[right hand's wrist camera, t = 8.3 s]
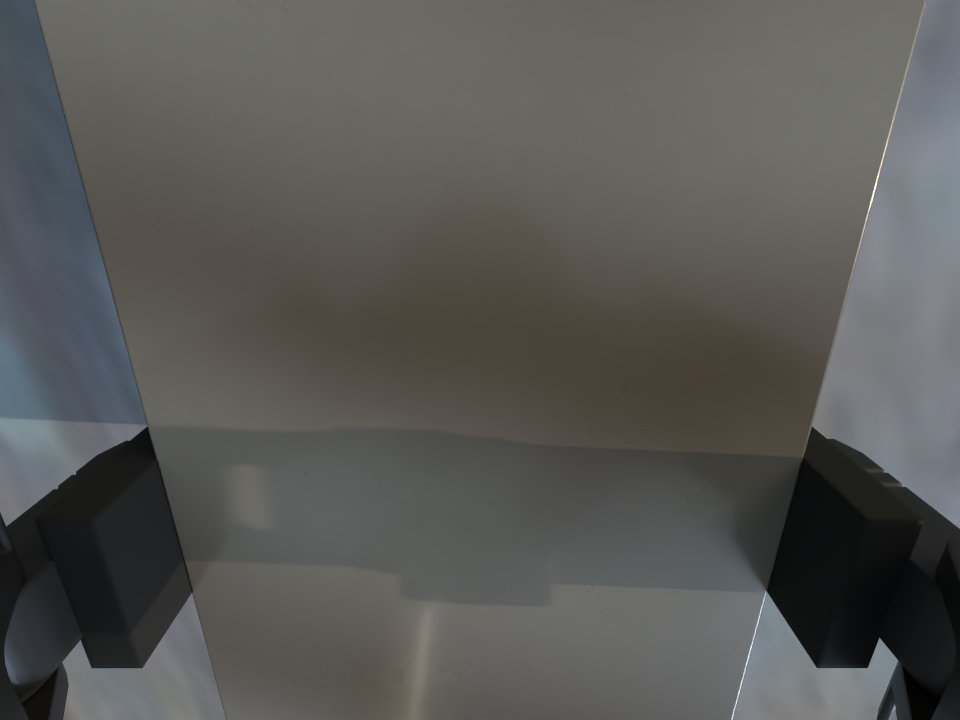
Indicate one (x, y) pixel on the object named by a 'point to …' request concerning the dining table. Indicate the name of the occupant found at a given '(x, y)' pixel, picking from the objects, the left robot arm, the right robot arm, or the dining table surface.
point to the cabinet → (479, 326)
